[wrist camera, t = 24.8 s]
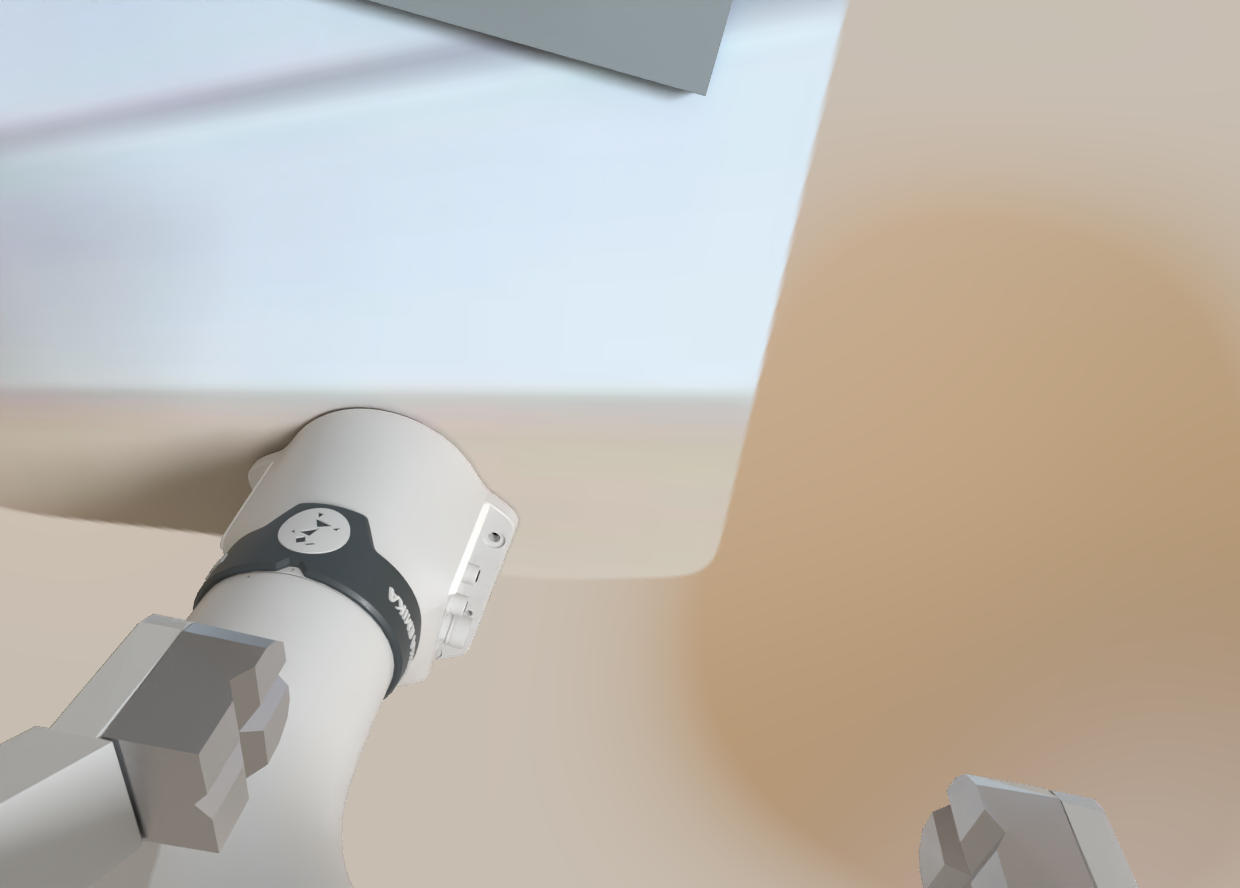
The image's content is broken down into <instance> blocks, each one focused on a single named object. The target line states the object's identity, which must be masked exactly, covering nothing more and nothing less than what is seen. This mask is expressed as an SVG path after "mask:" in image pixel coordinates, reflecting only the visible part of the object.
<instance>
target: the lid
mask: <svg viewBox="0 0 1240 888" xmlns="http://www.w3.org/2000/svg"><path fill="white" fill-rule="evenodd" d="M369 1H372V2H376V3H379V4H383V5H387V6H390V7H394V8H397V9H401V10H404V11H408V12H411V13H415V14H418V15H422V16H425V17H429V18H432V19H436V20H439V21H443V22H446V23H450V24H453V25H457V26H460V27H464V28H467V29H471V30H474V31H478V32H482V33H485V34H489V35H492V36H496V37H499V38H503V39H506V40H510V41H513V42H517V43H520V44H524V45H527V46H531V47H534V48H538V49H541V50H545V51H548V52H552V53H555V54H559V55H562V56H566V57H569V58H573V59H577V60H580V61H584V62H587V63H591V64H594V65H598V66H601V67H605V68H608V69H612V70H615V71H619V72H622V73H626V74H629V75H633V76H636V77H640V78H643V79H647V80H650V81H654V82H657V83H661V84H664V85H668V86H671V87H675V88H679V89H682V90H686V91H689V92H693V93H696V94H700V95H703V96H706V92H707V89H708V85H709V82H710V78H711V74H712V71H713V67H714V64H715V60H716V57H717V53H718V50H719V46H720V43H721V39H722V35H723V32H724V28H725V25H726V21H727V18H728V14H729V11H730V7H731V4H732V0H369Z"/></svg>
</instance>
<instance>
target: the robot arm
mask: <svg viewBox="0 0 1240 888" xmlns="http://www.w3.org/2000/svg"><path fill="white" fill-rule="evenodd" d="M248 481H249V484H250V487H251V490H252V492H251V494H250V495H249V496H248V498H247V499H246V501H245V502H244V504H243V505H242V507H241V508H240V510H239V512H238V513H237V515H236V516H235V518H234V519H233V521H232V522H231V524H230V525H229V527H228V528H227V530H226V531H225V533H224V535H223V537H222V539H221V543H220V547H221V548H222V549H223V551H224V556H223V557H222V558H221V559H220V560H219V561H218V562H217V563H216V564H215V566H214V567H213V568H212V570H211V571H210V573H209V575H208V576H207V577H206V581H205V582H204V584H203V586H202V587H201V589H200V590H199V592H198V593H197V596H196V598H195V601H194V606H193V612H192V613H191V614H190V616H189V617H188V618H187V619H186V620H181V619H177V618H172V617H167V616H162V615H157V614H152V615H151V616H149V617H147V618H146V619H144V620H143V621H141V622H140V623H138V624H137V625H136V627H135V628H134V629H133V630H132V631H131V632H130V633H129V635H128V636H127V637H126V638H125V639H124V641H123V642H122V643H121V644H120V645H119V646H118V648H117V649H116V650H115V651H114V652H113V654H112V655H111V656H110V657H109V658H108V660H107V661H106V662H105V663H104V664H103V665H102V667H101V668H100V669H99V670H98V671H97V672H96V674H95V675H94V676H93V677H92V678H91V680H90V681H89V682H88V683H87V684H86V686H85V687H84V688H83V689H82V690H81V691H80V693H79V694H78V695H77V696H76V697H75V698H74V700H73V701H72V702H71V703H70V704H69V706H68V707H67V708H66V709H65V710H64V712H63V713H62V714H61V715H60V716H59V717H58V719H57V720H56V721H55V722H54V723H53V725H52V726H51V727H50V728H45V727H39V726H35V727H33V728H31V729H29V730H27V731H25V732H23V733H21V734H20V735H17V736H15V737H14V738H11V739H10V740H7V741H6V742H4V743H2V744H0V888H354V887H353V885H352V883H351V881H350V879H349V876H348V872H347V870H346V866H345V860H344V855H343V846H342V823H343V814H344V807H345V802H346V799H347V795H348V791H349V787H350V784H351V781H352V778H353V775H354V772H355V770H356V767H357V764H358V761H359V758H360V756H361V753H362V751H363V748H364V746H365V743H366V740H367V738H368V735H369V733H370V730H371V728H372V725H373V723H374V720H375V718H376V715H377V713H378V710H379V708H380V706H381V703H382V701H383V700H384V699H385V698H386V697H387V696H388V695H389V694H390V693H391V692H392V691H393V690H394V688H395V687H400V686H408V685H411V684H416V683H418V682H420V681H422V680H424V679H425V678H426V677H427V676H428V674H429V672H430V670H431V667H432V665H433V662H434V660H435V659H447V658H452V657H457V656H460V655H463V654H465V653H466V652H467V651H468V649H469V647H470V645H471V643H472V641H473V639H474V637H475V634H476V632H477V629H478V626H479V624H480V621H481V619H482V616H483V613H484V611H485V608H486V606H487V603H488V601H489V598H490V596H491V593H492V590H493V588H494V585H495V583H496V580H497V577H498V575H499V572H500V570H501V567H502V565H503V562H504V560H505V557H506V555H507V552H508V549H509V547H510V544H511V542H512V539H513V537H514V534H515V531H516V529H517V526H518V517H517V515H516V513H515V512H514V511H513V509H512V508H511V507H509V506H508V505H507V504H506V503H505V502H503V501H502V500H501V499H500V498H498V497H497V496H496V495H494V494H493V493H491V492H490V491H489V490H488V489H487V488H486V487H485V486H484V484H483V483H482V482H481V480H480V479H479V477H478V475H477V474H476V472H475V471H474V469H473V468H472V466H471V465H470V463H469V462H468V461H467V459H466V458H465V457H464V456H463V455H462V454H461V453H460V451H459V450H458V449H457V448H456V447H454V446H453V445H452V444H451V443H450V442H449V441H448V440H446V439H445V438H444V437H442V436H441V435H440V434H438V433H437V432H435V431H434V430H432V429H430V428H429V427H427V426H425V425H423V424H421V423H419V422H417V421H415V420H412V419H410V418H408V417H405V416H402V415H399V414H395V413H391V412H387V411H382V410H375V409H346V410H340V411H336V412H332V413H329V414H326V415H323V416H321V417H319V418H317V419H315V420H313V421H312V422H310V423H309V424H307V425H306V426H305V427H304V428H302V429H301V430H300V431H299V432H298V434H297V435H296V436H295V437H294V438H293V440H292V441H291V442H290V443H289V444H288V445H287V446H286V447H285V448H284V449H283V450H280V451H277V452H275V453H272V454H269V455H266V456H264V457H262V458H260V459H258V460H257V461H256V462H255V463H254V464H253V466H252V468H251V469H250V471H249V473H248ZM492 533H497V534H498V535H499V536H496V535H494V534H492ZM947 793H948V797H949V801H950V805H948V806H946V807H943V808H941V809H939V810H936V811H934V812H932V814H931V816H930V818H929V819H928V821H927V823H926V824H925V826H924V828H923V830H922V836H921V842H920V848H919V862H920V863H919V865H920V874H921V880H922V885H923V888H1138V885H1137V883H1136V881H1135V879H1134V877H1133V874H1132V872H1131V870H1130V868H1129V865H1128V863H1127V861H1126V859H1125V856H1124V854H1123V852H1122V850H1121V847H1120V845H1119V843H1118V840H1117V838H1116V836H1115V834H1114V831H1113V829H1112V827H1111V825H1110V823H1109V820H1108V818H1107V816H1106V813H1105V811H1104V810H1103V808H1102V807H1101V806H1100V805H1099V804H1098V803H1097V802H1096V801H1095V800H1094V799H1092V798H1088V797H1083V796H1078V795H1073V794H1067V793H1062V792H1056V791H1051V790H1046V789H1045V788H1042V787H1036V786H1031V785H1025V784H1019V783H1013V782H1008V781H1003V780H997V779H992V778H986V777H981V776H975V775H970V774H963V775H961V776H959V777H956V778H955V779H954V781H953V782H952V784H951V785H950V787H949V788H948V790H947Z"/></svg>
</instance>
